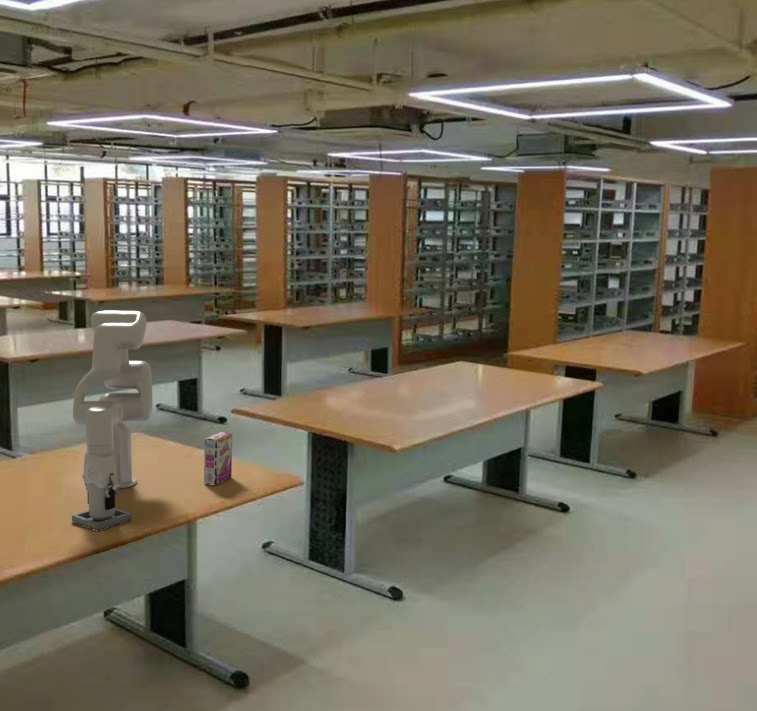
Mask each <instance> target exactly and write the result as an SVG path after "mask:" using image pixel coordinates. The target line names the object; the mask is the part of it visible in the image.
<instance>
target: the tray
mask: <svg viewBox="0 0 757 711" xmlns="http://www.w3.org/2000/svg"><path fill="white" fill-rule="evenodd" d="M129 520H131V521H132V512H128V511H125V510H122V509H120V508H116V507H115V514H114V515H113V516H112V517H111V518H109V519H104V520H96V519H93V518H92V517H91V516H89V509H87V510H85V511H82V512H79V513H75V514H72V515H71V522H72V521H73V522H75V523H78V524H80V525H83V526H86V527H89V528H91V529H95V530H97V531H98V530H101V529H104V528H107V527H110V526H113V525H116V526H118V525H117V524H119V525H121V524H120V523H122V524H124V523H123V522H125V523H127V522H126V521H128V522H130V521H129ZM75 523H74V524H75ZM78 524H77V525H78ZM80 525H79V526H80ZM83 526H82V527H83ZM86 527H85V528H86ZM113 527H114V526H113ZM89 528H88V529H89ZM110 528H111V527H110ZM91 529H90V530H91ZM107 529H108V528H107ZM104 530H105V529H104ZM97 531H96V532H97ZM101 531H102V530H101ZM98 532H99V531H98Z"/></svg>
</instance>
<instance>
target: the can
mask: <svg viewBox="0 0 757 711" xmlns="http://www.w3.org/2000/svg"><path fill="white" fill-rule="evenodd" d="M92 482H94V481H92ZM110 485H111V483H109V484H108V486H110ZM108 490H109V492H110V490H111V488H108ZM88 494H89V504H88V510H89V516H91V517H92V518H93V519H96V520H104V519H109V518H111V517H112V516H113V515H114V514H115V508H116V507H115V508H113V509H109V510H105V497H106V494H105V491H104V489H99V488H98V487H97V486H96V485H95V484H93V483H89V484H88V493H87V495H88Z"/></svg>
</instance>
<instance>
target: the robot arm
mask: <svg viewBox="0 0 757 711" xmlns="http://www.w3.org/2000/svg"><path fill="white" fill-rule="evenodd" d="M90 324H91V325H90V326H91V328H92V330H93V333H94V334H93V345H92V346H93V347H92V358H91V359H92V360H91V368H90V370H89V371H88V372H87V373H86V374H85V375H84V376H83V377H82V378H81V379H80V380H79V382H78V384H77V386H76V387H75V391H74V395H73V404H72V405H73V406H72V419H73V421H74V423H75V424H76V425H78V426H80V427H85V434H86V435H85V438H86V440H85V441H86V443H85V444H86V451H85V453H84V459H83V473H82V474H81V477H82V479H83V483H84V485H85V490H86V491H87V504H88V505H89V494H88V484H89V483H93V484H95V485H96V486H97V487H98V488H99V489H104V491H105V494H106V497H105V510H109V509H113V508H116V495H117V493H118V491H119V489H120V490H121V489H126V488H130V487H132V486H134V485H136V484H137V481H138V480H137V478H136V477H135V476H133V468H132V463H133V462H132V460H133V459H132V456H133V455H132V433H131V430H130V428H129V426H128V425H127V424H126V423H125V422H135V421H137V422H139V421H140V422H141V421H147V420H150V418H151V417H152V415H153V376H152V375H153V374H152V368H151V364H149V362H147V361H145V360H130V359H129V350H139V349H140V348H141V347H142V345H143V342H144V339H145V334H146V331H147V317H146V315H145V313H143V312H142V311H138V310H100V311H99V310H98V311H96V312H94V313H92V314H91V317H90ZM102 382H103V385H104V387H106V388H108V389H111V390H112V389H113V390H115V389H116V390H137V392H110V393H104V394H102V395H101V396H100V398H99V399H98V400H95V401H94V400H86V401H85V398H86V394H87V393H88V392H89V390H90V389H92V388H93V387H95V386H96V385H98V384H100V383H102ZM92 481H94V482H92ZM109 483H111V485H110V486H108V484H109ZM108 488H111V490H110V492H109V490H108Z"/></svg>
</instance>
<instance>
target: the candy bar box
mask: <svg viewBox="0 0 757 711" xmlns="http://www.w3.org/2000/svg"><path fill="white" fill-rule="evenodd" d="M232 453H233V433H231V432H223V431H220V432H217V433H215V434H213V435H210V436H208V437H206V438H204V464H203V465H204V468H203V469H204V470H203V471H204V473H203V476H204V477H203V478H204V479H203V480H204V483H206V484H213V485H216V486H218V485H220V484H222V483H223V482H222V481H224V480H226V479H228V478H230V477H231V478H232V469H233V468H232V466H233V465H232V464H233V460H232V459H233V454H232ZM231 478H230V479H231ZM228 480H229V479H228ZM226 481H227V480H226ZM221 482H222V483H221ZM224 482H225V481H224ZM204 483H203V484H204ZM219 483H220V484H219ZM206 484H205V485H206ZM217 484H218V485H217Z"/></svg>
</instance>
